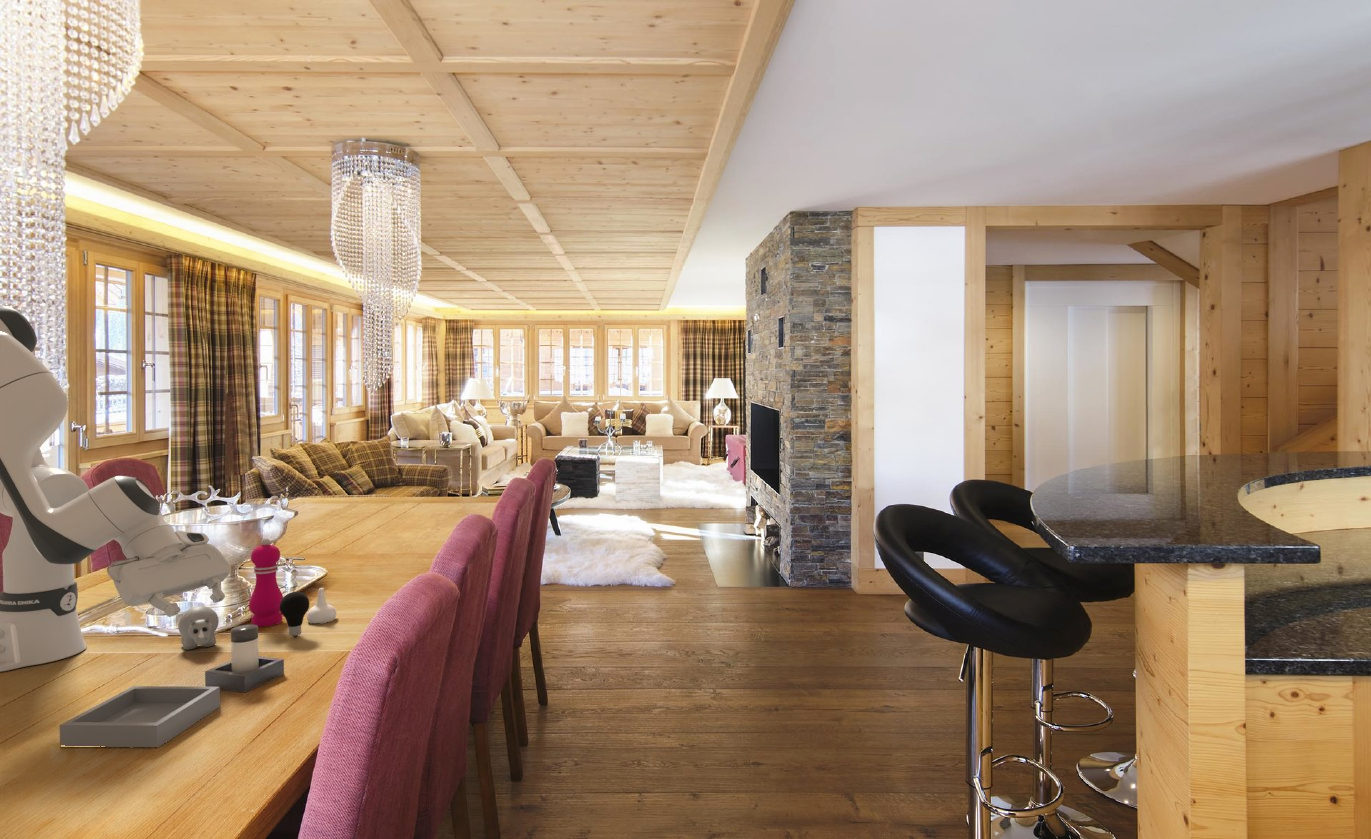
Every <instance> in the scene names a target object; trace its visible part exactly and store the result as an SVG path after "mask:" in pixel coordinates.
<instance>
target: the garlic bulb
mask: <svg viewBox="0 0 1371 839" xmlns="http://www.w3.org/2000/svg"><path fill="white" fill-rule="evenodd" d="M336 618H337V610H336V608H335V607H334V606H333V605H331V604H329V603H327V600H326V595H325V588H324V587H320V588H318V593H317V599H316V603H315V604H314V606H312V607H311V608H309V609H308V611H307V612H306V619H307V621H308V623H309V624H312V623H323V624H327V623H326V622H328V623H330V622H329V621H331V622H333V621H334V620H335V619H336Z"/></svg>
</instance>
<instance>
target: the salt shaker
mask: <svg viewBox="0 0 1371 839" xmlns="http://www.w3.org/2000/svg"><path fill="white" fill-rule="evenodd" d="M230 654H231V655H230V657H231V660H230V661H231V665H232V672H235V673H243V674H245V673H247V672H250V671H252V670H254V669H257V668H259V655H260V654H259V627H258V626H257V625H252V624H243V625H238V626H235V627H233V628H231V629H230Z"/></svg>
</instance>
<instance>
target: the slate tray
mask: <svg viewBox="0 0 1371 839" xmlns="http://www.w3.org/2000/svg"><path fill="white" fill-rule="evenodd" d="M220 692H221V689H220V687H205V686H181V685H180V686H178V685H177V686H176V685H175V686H173V685H172V686H171V685H170V686H157V685H156V686H153V685H152V686H150V685H149V686H146V685H139V686H138V685H134V686H131V687H129V688H128V689H125V690H123V691H121V692H120V693H118V694H116V695H114V696H112V697H110V698H108V699H106V700H105V701H102V702H101V703H98V704H97V705H95V706H93V707H91V708H90V709H88V710H86V711H83V712H82V713H79V714H78V715H75V716H74V717H72V718H71V719H69V720H66V721H65V722H63V723H61V724H59V746H60V745H65V746H100V747H101V746H105V747H130V748H129V749H134V748H133V747H159V746H160V747H162V746H163V745H165V744H166V743H167V742H166V741H168V742H169V741H171V740H172V739H174V738H176V737H177V736H179V734H181V733H183V732H184V731H186V730H188V729H189V728H190V727H192V726H193V725H195V724H196V723H198V722H200V721H201V720H203V717H204V718H206V717H207V716H208V715H210V714H211V713H213V712H215V711H216V710H217V709H219V708H220V707H221V695H220V694H221V693H220ZM200 719H201V720H200ZM197 721H198V722H197ZM173 737H174V738H173ZM170 739H171V740H170ZM165 742H166V743H165ZM164 743H165V744H164ZM162 744H163V745H162ZM161 745H162V746H161ZM160 747H159V748H160Z"/></svg>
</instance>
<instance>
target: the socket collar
mask: <svg viewBox="0 0 1371 839" xmlns="http://www.w3.org/2000/svg"><path fill="white" fill-rule="evenodd" d="M284 675H285V659H284V658H277V657H271V656H270V657H269V656H259V668H257V669H254V670H252V671H250V672H247V673H245V674H243V673H235V672H232V665H231V660H229V661H227V662H224V663H221V664H219V665H217V666H215V667H212V668H209V669H207V670H205V671H204V678H205V679H204V682H205V686H204V687H220V691H221V690H222V691H223V690H224V691H230V692H237V693H243V694H244V693H247V692H250V691H251V690H254V689H256V688H259V687H260V686H262V685H265V684H266V683H269V682H271V681H273V680H275V679H278V678H279V677H281V676H284Z"/></svg>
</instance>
